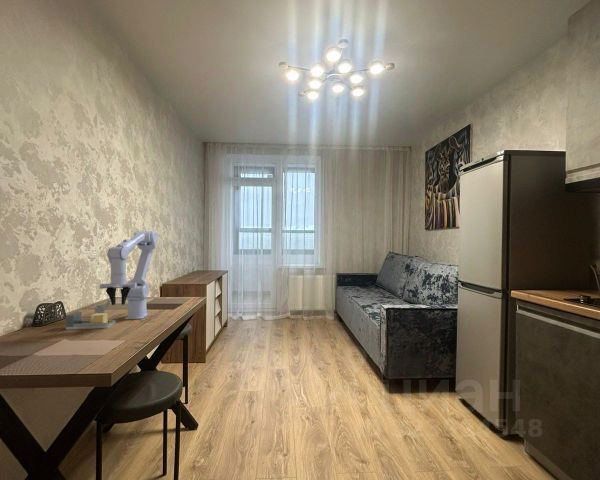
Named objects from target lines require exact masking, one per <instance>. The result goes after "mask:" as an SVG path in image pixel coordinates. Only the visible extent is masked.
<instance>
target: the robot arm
mask: <svg viewBox="0 0 600 480" xmlns="http://www.w3.org/2000/svg"><path fill="white" fill-rule="evenodd" d="M158 240H159V236H158V234H157V232H156V231H155V230H152V231H151V230H150V231H147V230H141V231H140V230H137V231H134V233H133V236H132V237H130V239H129V238H128V239H125V238H124V239H123V240H122V241H121V242H120V243H118V244H117V245H116V246H111V247H110V248H108V250H107V255H106V256H107V258H108V262H109V264H110V282H109V283H100V284H99V290H101V289H105V293H107V296H108V297H109V299H110V300H111V302H110V304H111V306H114V305H116V304H117V303H116V300H117V299H116V295H117V289H120V290H119V291H120V295H121V300H120V301H121V306H122V305H123V306H124V305H126V302H127V316H126V317H125V318H124V320H142V319H144V318H145V317H147V316H148V315H149V312H148V311H147V300H146V298H147V297H148V295H149V291H150V290H149V288H150V285H149V282H147V281H146V278H147V273H148V271H149V266H150V264H151V263H150V262H151V259H152V256H153V252H154V250H155V249H156V248H157V244H158ZM136 246H137V248H138V249H139V250H141V253H140V255H139V260H138V262H137V266H136V269H135V272H134V276H133V278H131V280H129V281H128V282H127V281H126V279H127V277H126V265H127V264H126V263H127V262H126V259H128V257H129V255H130V253H131V252H133V251H134V250H135V248H136Z"/></svg>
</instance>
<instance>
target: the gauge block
mask: <svg viewBox="0 0 600 480" xmlns="http://www.w3.org/2000/svg"><path fill="white" fill-rule="evenodd" d="M108 315H109V314H108V312H105V313H95V312H94V313H93V314H92V315H90V316H89V320H90V323H107V322H108V319H109V316H108Z"/></svg>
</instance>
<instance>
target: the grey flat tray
mask: <svg viewBox="0 0 600 480" xmlns="http://www.w3.org/2000/svg"><path fill="white" fill-rule="evenodd" d="M116 323H117V320H114V319H113V318H111V319H110V318H108V322H107V323H90V319H86V320H81V324H73V327H66V326H65V330H66V331H69V330H87V329H88V330H90V329H91V330H92V329H109V328H110V327H112V326H113V325H115V324H116Z"/></svg>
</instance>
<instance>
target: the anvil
mask: <svg viewBox="0 0 600 480" xmlns="http://www.w3.org/2000/svg"><path fill="white" fill-rule="evenodd" d="M81 320H82V311H74V312H71V313H69V314H67V315H66V314H65V328H66V327H73V324H81Z"/></svg>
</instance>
